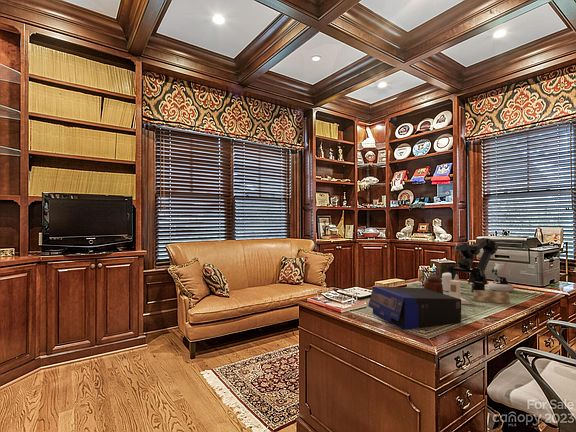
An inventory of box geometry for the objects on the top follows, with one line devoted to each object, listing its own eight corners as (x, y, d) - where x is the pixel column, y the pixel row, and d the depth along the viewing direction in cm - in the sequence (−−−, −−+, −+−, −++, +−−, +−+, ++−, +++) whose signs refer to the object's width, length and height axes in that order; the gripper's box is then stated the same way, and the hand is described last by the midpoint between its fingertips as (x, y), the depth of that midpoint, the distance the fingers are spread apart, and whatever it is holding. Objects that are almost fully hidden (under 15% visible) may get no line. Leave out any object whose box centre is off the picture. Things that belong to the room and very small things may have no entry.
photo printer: (440, 290, 213) (441, 272, 213) (443, 289, 216) (443, 271, 216) (456, 293, 205) (457, 274, 205) (459, 292, 208) (459, 273, 208)
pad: (460, 298, 191) (460, 297, 191) (470, 304, 179) (470, 302, 179) (440, 298, 192) (440, 296, 192) (448, 303, 180) (448, 302, 180)
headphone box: (367, 314, 161) (367, 286, 161) (423, 308, 172) (423, 282, 172) (398, 331, 138) (398, 298, 138) (461, 323, 149) (461, 292, 149)
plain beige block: (460, 299, 186) (460, 281, 186) (457, 301, 183) (457, 282, 183) (452, 298, 189) (452, 279, 189) (449, 299, 186) (449, 280, 186)
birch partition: (474, 300, 188) (474, 290, 188) (473, 299, 189) (473, 289, 189) (509, 303, 182) (509, 293, 182) (508, 302, 183) (508, 292, 183)
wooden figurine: (447, 310, 168) (448, 276, 168) (440, 312, 164) (440, 277, 164) (427, 305, 178) (427, 273, 178) (420, 306, 175) (420, 274, 175)
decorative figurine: (482, 287, 221) (482, 259, 221) (501, 287, 223) (502, 259, 223) (499, 293, 206) (499, 262, 206) (519, 292, 208) (519, 262, 208)
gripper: (448, 251, 201) (440, 271, 194) (480, 254, 187) (473, 275, 180) (453, 263, 207) (445, 282, 199) (485, 266, 192) (478, 287, 185)
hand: (460, 281), depth 191 cm, fingers open, 9 cm apart
